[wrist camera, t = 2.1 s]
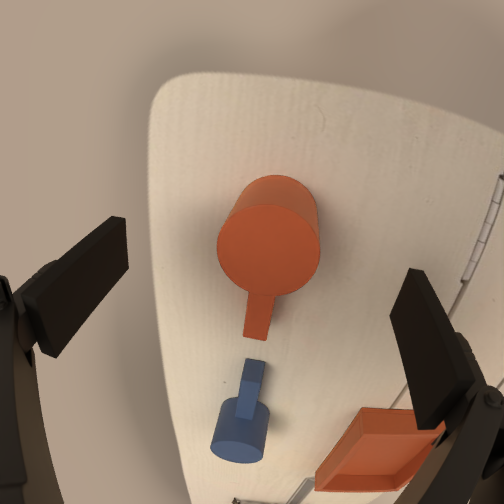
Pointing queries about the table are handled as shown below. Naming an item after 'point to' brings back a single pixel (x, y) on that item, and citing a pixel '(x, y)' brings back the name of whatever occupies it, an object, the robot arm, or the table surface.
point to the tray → (376, 453)
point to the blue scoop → (243, 420)
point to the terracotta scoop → (269, 245)
